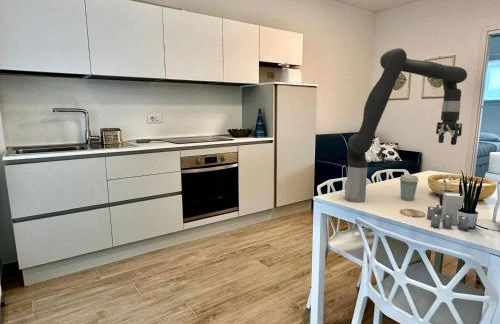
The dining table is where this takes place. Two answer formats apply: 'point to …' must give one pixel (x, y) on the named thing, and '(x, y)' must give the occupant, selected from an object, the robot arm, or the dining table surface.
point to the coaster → (412, 212)
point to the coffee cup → (408, 187)
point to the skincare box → (451, 205)
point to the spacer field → (446, 219)
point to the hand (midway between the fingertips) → (446, 143)
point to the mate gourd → (445, 192)
